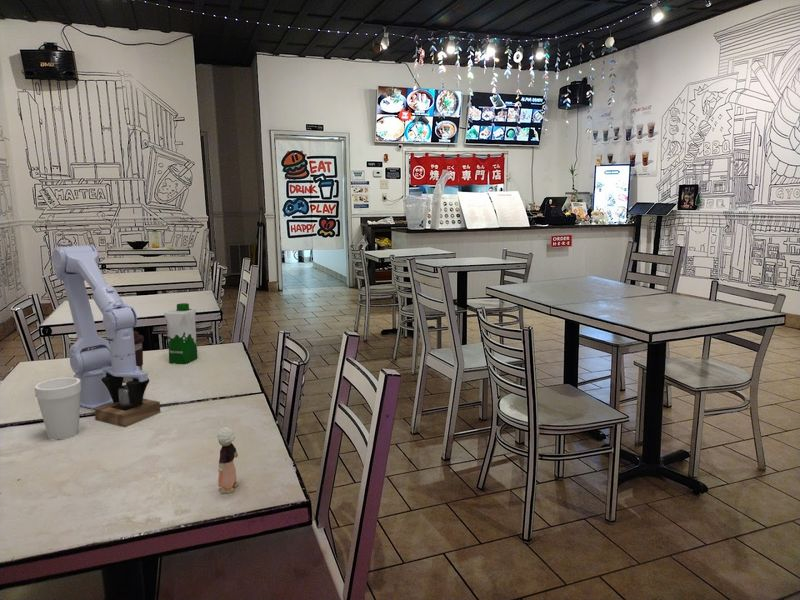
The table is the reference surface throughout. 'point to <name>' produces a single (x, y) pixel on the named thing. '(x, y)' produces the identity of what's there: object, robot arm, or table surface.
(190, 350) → the milk carton
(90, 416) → the table surface
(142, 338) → the coffee cup
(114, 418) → the square wooden ring
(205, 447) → the table surface
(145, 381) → the robot arm
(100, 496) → the table surface
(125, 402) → the round peg
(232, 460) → the grandmother figurine
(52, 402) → the foam cup
